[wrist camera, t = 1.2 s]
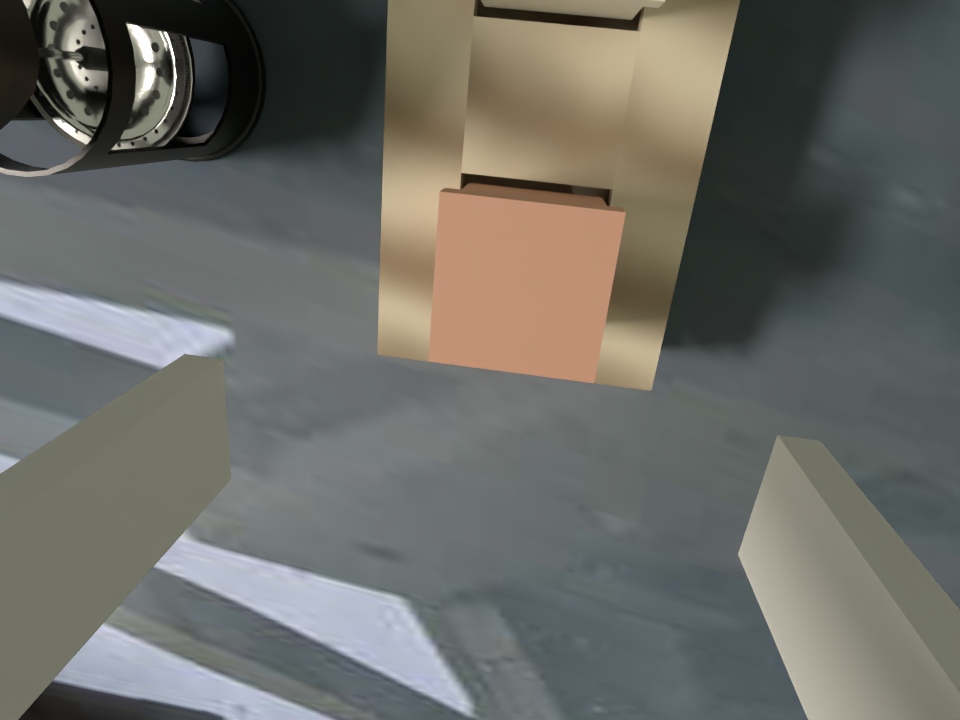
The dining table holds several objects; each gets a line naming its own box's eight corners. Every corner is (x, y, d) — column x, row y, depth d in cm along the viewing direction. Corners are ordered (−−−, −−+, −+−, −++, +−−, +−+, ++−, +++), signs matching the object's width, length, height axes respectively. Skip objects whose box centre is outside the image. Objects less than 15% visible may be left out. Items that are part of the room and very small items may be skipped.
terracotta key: (463, 174, 27) (439, 191, 21) (609, 190, 27) (625, 212, 21) (452, 312, 30) (428, 361, 24) (585, 329, 29) (594, 383, 23)
